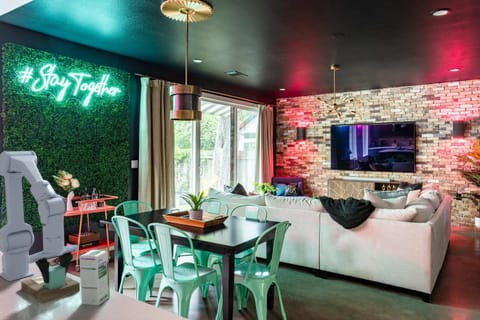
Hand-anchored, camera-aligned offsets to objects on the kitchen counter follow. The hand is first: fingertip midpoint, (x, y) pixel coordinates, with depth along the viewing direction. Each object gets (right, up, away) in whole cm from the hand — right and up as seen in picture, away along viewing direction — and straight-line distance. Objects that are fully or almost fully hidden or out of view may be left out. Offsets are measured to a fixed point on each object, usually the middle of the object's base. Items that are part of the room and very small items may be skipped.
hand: (54, 279), depth 110 cm
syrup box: (+15, -5, -5) cm, 16 cm away
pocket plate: (-3, -4, +2) cm, 5 cm away
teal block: (0, -3, 0) cm, 3 cm away
